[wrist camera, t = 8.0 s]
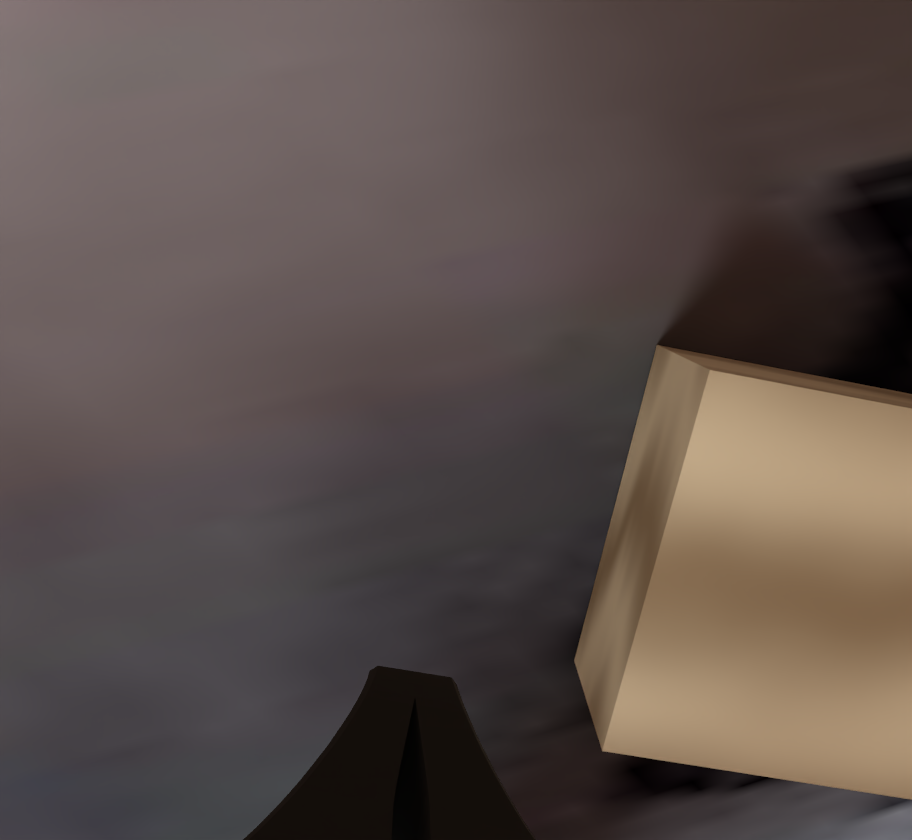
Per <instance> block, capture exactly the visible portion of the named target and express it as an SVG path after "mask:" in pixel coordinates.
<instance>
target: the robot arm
mask: <svg viewBox="0 0 912 840" xmlns="http://www.w3.org/2000/svg"><path fill="white" fill-rule="evenodd" d="M243 840H535V838H534V837H533V835H532V834H531V832H530V831H529V829H528V827H527V826H526V824H525V823H524V821H523V820H522V818H521V816H520V815H519V813H518V811H517V810H516V808H515V806H514V805H513V803H512V801H511V800H510V798H509V796H508V795H507V793H506V791H505V789H504V787H503V786H502V784H501V782H500V780H499V778H498V777H497V775H496V773H495V771H494V769H493V767H492V765H491V763H490V761H489V759H488V757H487V755H486V753H485V751H484V749H483V747H482V745H481V743H480V741H479V739H478V737H477V735H476V732H475V730H474V728H473V725H472V723H471V721H470V719H469V716H468V714H467V712H466V709H465V707H464V704H463V702H462V699H461V696H460V693H459V691H458V688H457V685H456V683H455V682H454V680H453V679H452V678H451V677H445V676H438V675H432V674H426V673H420V672H414V671H407V670H401V669H395V668H389V667H382V666H377V667H375V668H374V669H372V670H370V672H369V675H368V679H367V681H366V684H365V686H364V688H363V690H362V692H361V694H360V696H359V698H358V700H357V702H356V703H355V705H354V707H353V708H352V710H351V712H350V713H349V715H348V717H347V718H346V720H345V721H344V723H343V724H342V726H341V727H340V728H339V730H338V731H337V733H336V734H335V736H334V737H333V739H332V740H331V742H330V743H329V745H328V746H327V747H326V749H325V750H324V751H323V752H322V754H321V755H320V756H319V758H318V759H317V760H316V761H315V763H314V764H313V765H312V766H311V768H310V769H309V770H308V771H307V773H306V774H305V775H304V776H303V778H302V779H301V780H300V781H299V782H298V784H297V785H296V786H295V787H294V788H293V789H292V790H291V792H290V793H289V794H288V795H287V796H286V797H285V798H284V799H283V800H282V802H281V803H280V804H279V805H278V806H277V807H276V808H275V809H274V810H273V811H272V812H271V813H270V814H269V815H268V816H267V817H266V818H265V819H264V820H263V821H262V822H261V823H260V824H259V825H258V826H257V827H256V828H255V829H254V830H253V831H252V832H251V833H250V834H249V835H248V836H247V837H246V838H244V839H243Z"/></svg>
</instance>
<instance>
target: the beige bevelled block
mask: <svg viewBox="0 0 912 840" xmlns="http://www.w3.org/2000/svg"><path fill="white" fill-rule="evenodd" d="M574 662H575V665H576V668H577V672H578V675H579V678H580V681H581V684H582V688H583V691H584V694H585V697H586V701H587V704H588V707H589V710H590V713H591V717H592V720H593V723H594V726H595V730H596V733H597V736H598V739H599V742H600V746H601V749H602V751H605V752H611V753H618V754H624V755H631V756H637V757H643V758H650V759H656V760H662V761H669V762H675V763H682V764H688V765H694V766H701V767H707V768H714V769H720V770H726V771H733V772H739V773H746V774H752V775H758V776H765V777H771V778H777V779H784V780H790V781H797V782H803V783H809V784H816V785H822V786H829V787H835V788H841V789H848V790H854V791H861V792H867V793H873V794H880V795H886V796H892V797H899V798H905V799H912V394H909V393H903V392H898V391H893V390H888V389H883V388H878V387H872V386H867V385H862V384H857V383H852V382H847V381H841V380H836V379H831V378H826V377H821V376H815V375H810V374H805V373H800V372H795V371H790V370H784V369H779V368H774V367H769V366H764V365H759V364H753V363H748V362H743V361H738V360H733V359H728V358H722V357H717V356H712V355H707V354H702V353H696V352H691V351H686V350H681V349H676V348H671V347H665V346H660V345H657V346H656V350H655V354H654V358H653V362H652V366H651V369H650V373H649V377H648V381H647V385H646V388H645V392H644V396H643V400H642V404H641V408H640V411H639V415H638V419H637V423H636V427H635V430H634V434H633V438H632V442H631V446H630V450H629V453H628V457H627V461H626V465H625V469H624V472H623V476H622V480H621V484H620V488H619V492H618V495H617V499H616V503H615V507H614V511H613V514H612V518H611V522H610V526H609V530H608V533H607V537H606V541H605V545H604V549H603V553H602V556H601V560H600V564H599V568H598V572H597V575H596V579H595V583H594V587H593V591H592V595H591V598H590V602H589V606H588V610H587V614H586V617H585V621H584V625H583V629H582V633H581V637H580V640H579V644H578V648H577V652H576V656H575V659H574Z"/></svg>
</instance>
